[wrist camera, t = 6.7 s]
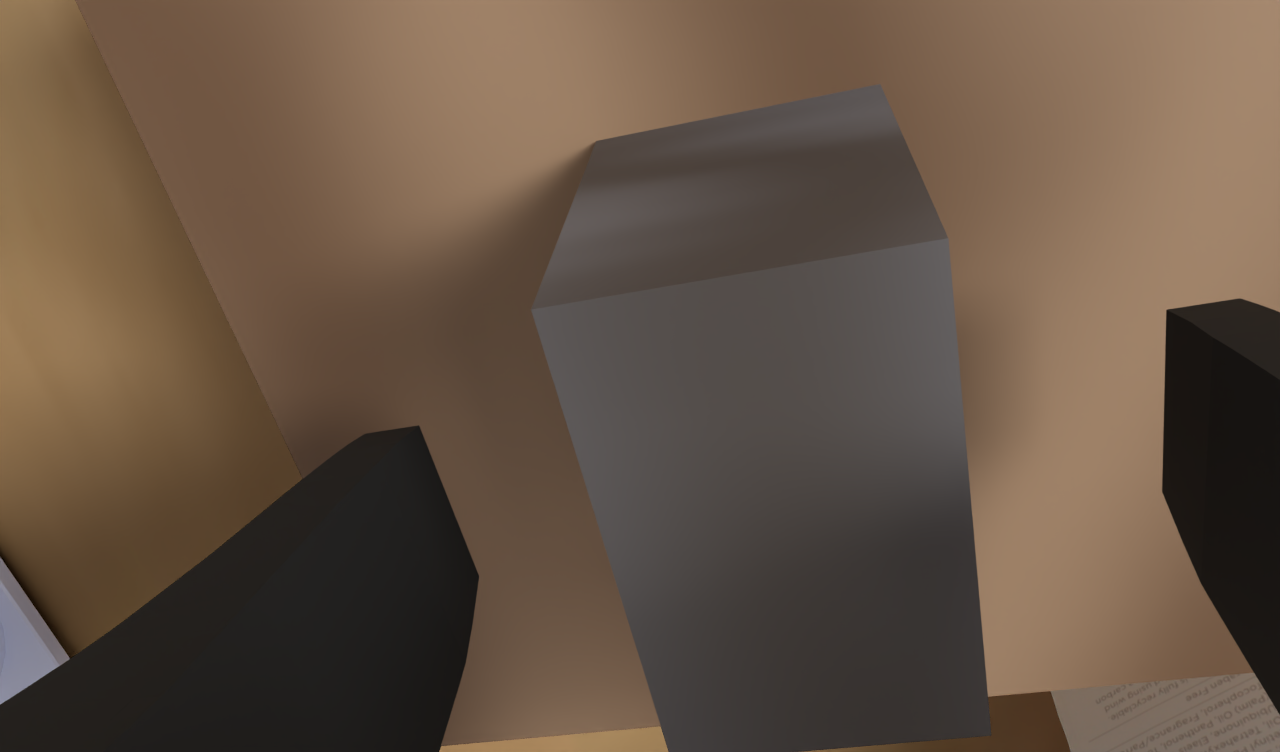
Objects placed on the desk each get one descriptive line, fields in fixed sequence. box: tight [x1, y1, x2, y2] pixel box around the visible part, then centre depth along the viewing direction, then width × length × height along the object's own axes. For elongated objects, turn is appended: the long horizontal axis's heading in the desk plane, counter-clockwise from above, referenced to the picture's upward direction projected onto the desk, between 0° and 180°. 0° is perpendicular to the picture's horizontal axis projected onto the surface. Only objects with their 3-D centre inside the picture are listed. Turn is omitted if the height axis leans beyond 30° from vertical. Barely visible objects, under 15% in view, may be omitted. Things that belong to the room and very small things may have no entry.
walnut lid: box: [75, 0, 1280, 752], centre depth 11 cm, size 13×13×5 cm
